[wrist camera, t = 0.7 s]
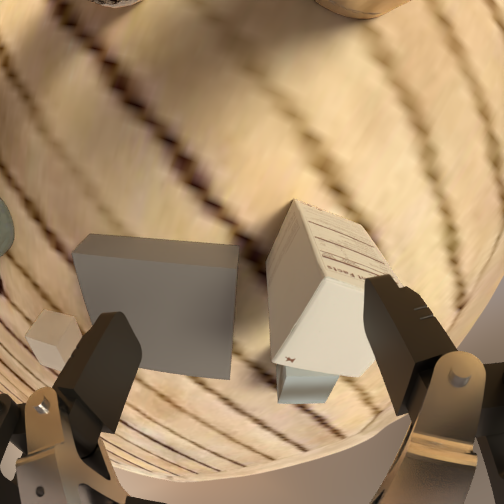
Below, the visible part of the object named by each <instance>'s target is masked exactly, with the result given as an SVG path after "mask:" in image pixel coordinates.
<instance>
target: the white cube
mask: <svg viewBox="0 0 504 504" xmlns="http://www.w3.org/2000/svg"><path fill="white" fill-rule="evenodd" d="M25 338H26V340H27V342H28V343H29V345H30V347H31V349H32V351H33V352H34V354H35V356H36V358H37V359H38V361H39V363H40V364H41V365H43V366H46V367H49V368H52V369H55V370H58V371H62V369H63V368H64V366H65V364H66V362H67V361H68V359H69V357H71V354H72V352H73V351H74V349H76V346H77V344H78V343H79V341H80V339H81V338H82V334H81V332H80V329H79V326H78V324H77V321H76V319H75V316H71V315H67V314H63V313H58V312H54V311H50V310H46V309H43V311H42V312H41V314H40V315H39V316H38V318H37V319H36V320H35V322H34V323H33V325H32V326H31V328H30V329H29V330H28V332H27V333H26V335H25Z"/></svg>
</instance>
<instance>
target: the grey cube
mask: <svg viewBox="0 0 504 504" xmlns="http://www.w3.org/2000/svg"><path fill="white" fill-rule="evenodd" d="M276 377H277V396H278V403H282V404H305V403H325V402H326V400H327V398H328V397H329V395H330V393H331V391H332V389H333V387H334V385H335V383H336V382H337V380H338V378H339V375H335V374H329V373H323V372H316V371H310V370H304V369H299V368H293V367H289V366H284V365H280V364H277V365H276Z"/></svg>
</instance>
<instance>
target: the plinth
mask: <svg viewBox="0 0 504 504" xmlns="http://www.w3.org/2000/svg"><path fill="white" fill-rule="evenodd" d="M72 257H73V261H74V265H75V269H76V273H77V277H78V280H79V284H80V287H81V291H82V294H83V298H84V301H85V304H86V307H87V310H88V313H89V316H90V319H91V322H92V325H93V324H94V323H95V321H96V320H97V318H98V317H99V315H100V314H101V313H107V312H119V311H120V312H122V313H124V315H125V316H126V318H127V320H128V322H129V324H130V326H131V328H132V330H133V332H134V334H135V335H136V337H137V339H138V341H139V343H140V345H141V349H142V360H141V363H140V365H139V368H143V369H149V370H154V371H160V372H167V373H173V374H180V375H188V376H196V377H204V378H214V379H224V380H230V371H231V359H232V344H233V329H234V315H235V300H236V286H237V273H238V259H239V246H236V245H224V244H212V243H200V242H188V241H175V240H163V239H150V238H138V237H125V236H112V235H99V234H89V235H88V236H87V237H86V238H85V239H84V240H83V241H82V242H81V243H80V244H79V245H78V246H77V248H76V249H75V250H74V251H73V252H72Z"/></svg>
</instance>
